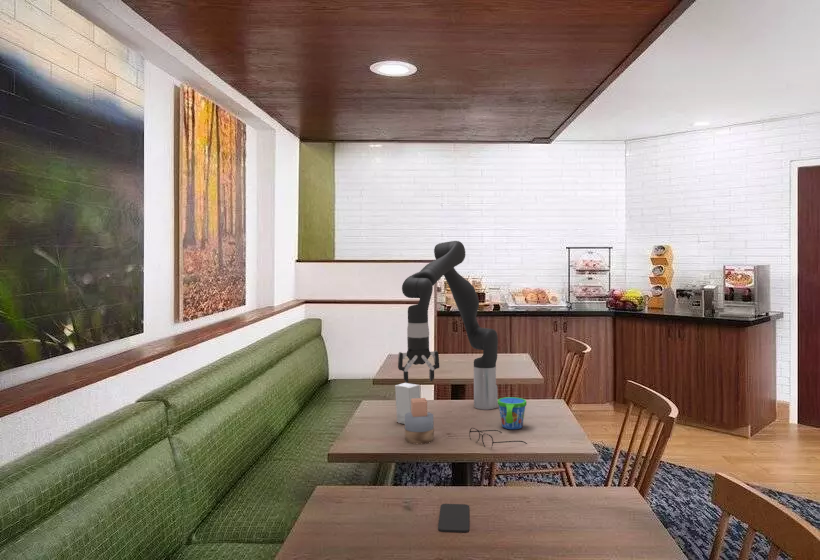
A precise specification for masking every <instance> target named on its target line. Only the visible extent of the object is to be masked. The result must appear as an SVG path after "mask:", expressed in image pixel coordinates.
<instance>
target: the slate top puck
mask: <svg viewBox="0 0 820 560" xmlns="http://www.w3.org/2000/svg"><path fill="white" fill-rule="evenodd" d="M433 428H434V413H432V412H429V411H427V416H419V417H413V416H412V413H411V412H409V413H406V414H405V424H404V430H405V429H406V430H408V431H411V432H426V431H430V430H432V429H433ZM434 429H435V428H434Z"/></svg>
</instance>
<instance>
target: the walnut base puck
mask: <svg viewBox="0 0 820 560" xmlns="http://www.w3.org/2000/svg"><path fill="white" fill-rule="evenodd" d="M434 432H435V428H433V429H432V430H430V431H426V432H411V431H408V430H406V429H405V428H404V437H405V439H404V440H405V441H406V443H409V442H410V443H409V444H413V443H415V445H424V444H425V443H426V444H429V442H430V443H432V442H433V440H435V433H434ZM416 443H418V444H416ZM421 443H422V444H421Z"/></svg>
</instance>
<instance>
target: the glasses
mask: <svg viewBox="0 0 820 560" xmlns="http://www.w3.org/2000/svg"><path fill="white" fill-rule="evenodd" d="M472 429H474V430H472ZM471 430H472V431H471ZM486 432H499V433H500V434H503V432H502V431H501V430H498V429H497V430H496V429H487V430H486V429H485V430H479V429H477V428H475V427H471V428H470V429H469V440H470V441H472V439H471V433H478V434H479V436H478V439H477V440H476V443H478V442H479V441H480V438H481V441H482V443H481V444H482V445H483V447H484V448H486V445H485V443H484V435H487V436H489V437H490V439H491V441H492V442H491V447H490V449H491V450H492V449H493V447H494V445H493V444H501V443H517V442H520V443H523V444H525V445H528V443H527V442H525V441H523V440H506V441H494V438H493V437H492V435H490V434H488V433H486Z"/></svg>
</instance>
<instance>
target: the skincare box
mask: <svg viewBox="0 0 820 560" xmlns="http://www.w3.org/2000/svg"><path fill="white" fill-rule="evenodd" d="M394 391H395V407H396V408H395V410H396V423H397V422H398V424H401V425H402V424H403V425H405V414H406V413H409V412H411V399H414V398H421V393H420V384H415V383H409V382H403V383H399V384H395V385H394Z"/></svg>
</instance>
